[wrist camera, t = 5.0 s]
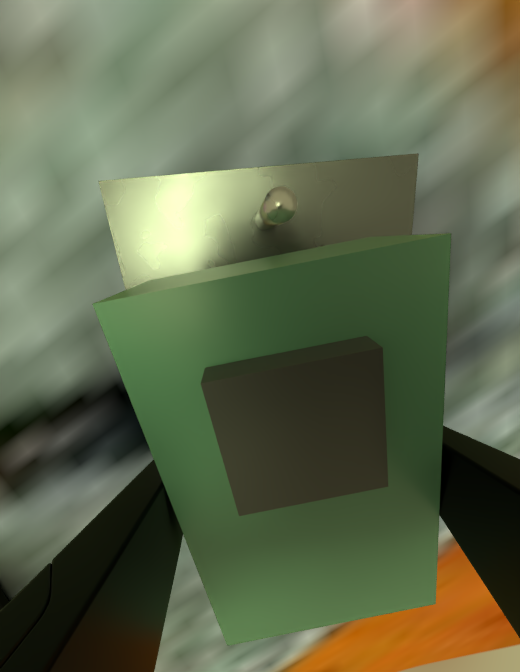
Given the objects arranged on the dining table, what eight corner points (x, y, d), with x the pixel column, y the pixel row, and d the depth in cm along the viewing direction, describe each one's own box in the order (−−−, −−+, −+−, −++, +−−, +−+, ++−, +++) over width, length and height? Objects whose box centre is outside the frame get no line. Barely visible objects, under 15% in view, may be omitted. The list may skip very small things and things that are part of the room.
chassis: (382, 465, 17) (445, 566, 11) (182, 489, 16) (155, 604, 11) (404, 160, 11) (539, 93, 6) (110, 186, 11) (-6, 137, 6)
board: (383, 507, 11) (450, 632, 7) (230, 537, 11) (226, 677, 7) (370, 236, 7) (481, 232, 4) (149, 280, 7) (71, 313, 4)
